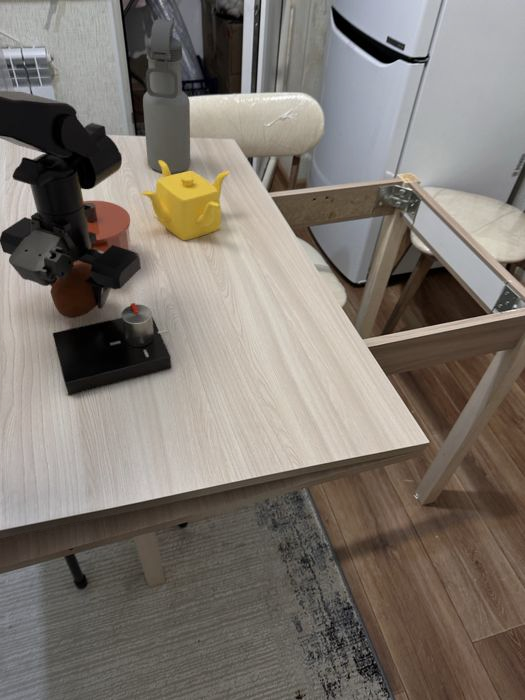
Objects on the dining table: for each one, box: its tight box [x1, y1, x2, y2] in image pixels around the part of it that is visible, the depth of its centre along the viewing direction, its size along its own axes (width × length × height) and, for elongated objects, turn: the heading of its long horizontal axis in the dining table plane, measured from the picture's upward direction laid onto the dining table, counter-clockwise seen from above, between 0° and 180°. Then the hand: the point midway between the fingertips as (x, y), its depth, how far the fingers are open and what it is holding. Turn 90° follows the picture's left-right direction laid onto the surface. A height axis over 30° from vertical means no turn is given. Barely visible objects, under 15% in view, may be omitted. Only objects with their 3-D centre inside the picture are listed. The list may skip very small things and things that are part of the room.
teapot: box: [140, 160, 230, 241], centre depth 93 cm, size 15×14×10 cm
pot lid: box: [83, 200, 131, 243], centre depth 79 cm, size 12×12×4 cm
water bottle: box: [142, 18, 191, 174], centre depth 103 cm, size 10×10×28 cm
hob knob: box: [121, 302, 154, 347], centre depth 67 cm, size 4×4×5 cm
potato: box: [50, 263, 98, 319], centre depth 71 cm, size 7×9×6 cm
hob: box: [52, 316, 172, 396], centre depth 69 cm, size 15×10×3 cm, turn 115°
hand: (80, 299), depth 72 cm, fingers closed on potato, 7 cm apart
